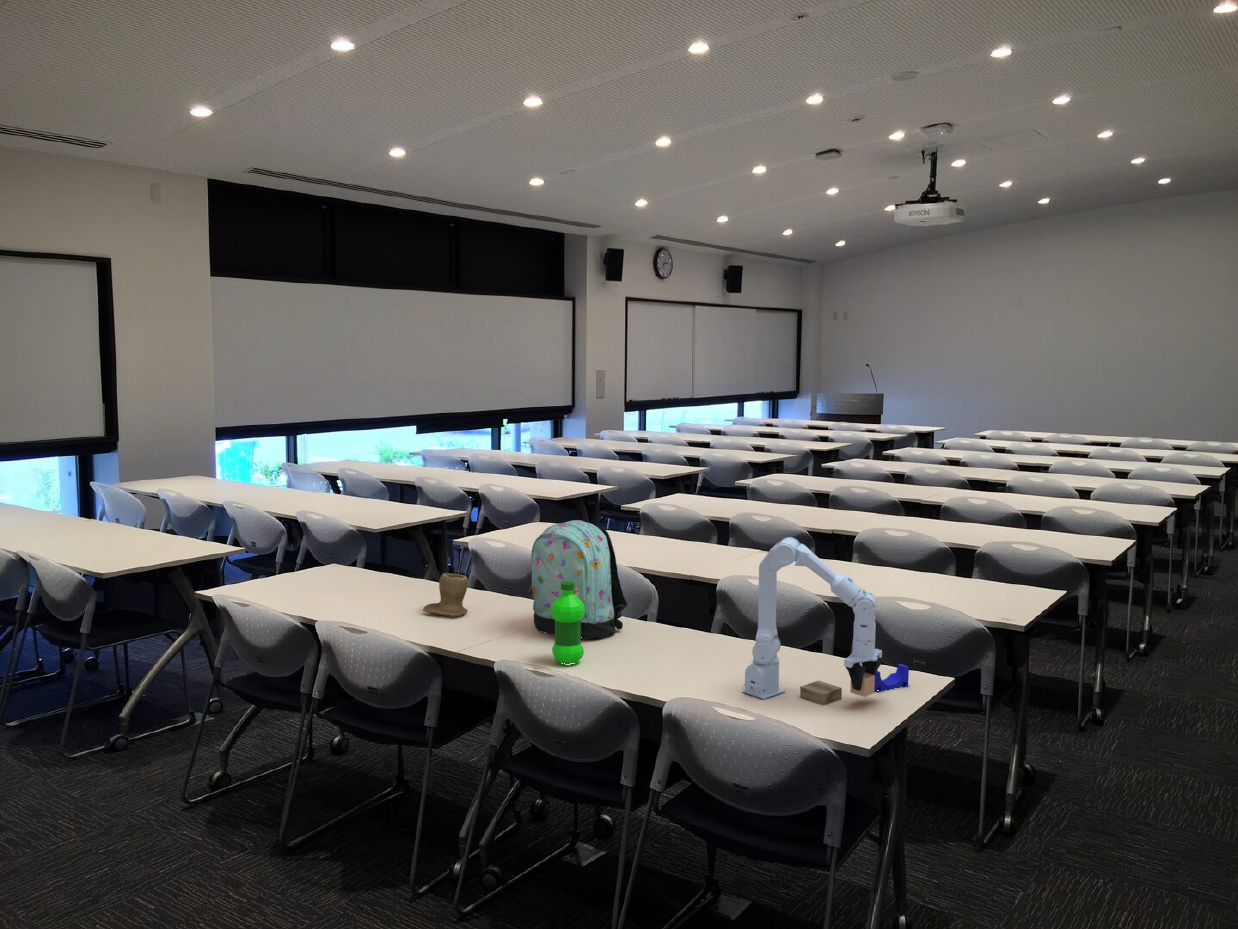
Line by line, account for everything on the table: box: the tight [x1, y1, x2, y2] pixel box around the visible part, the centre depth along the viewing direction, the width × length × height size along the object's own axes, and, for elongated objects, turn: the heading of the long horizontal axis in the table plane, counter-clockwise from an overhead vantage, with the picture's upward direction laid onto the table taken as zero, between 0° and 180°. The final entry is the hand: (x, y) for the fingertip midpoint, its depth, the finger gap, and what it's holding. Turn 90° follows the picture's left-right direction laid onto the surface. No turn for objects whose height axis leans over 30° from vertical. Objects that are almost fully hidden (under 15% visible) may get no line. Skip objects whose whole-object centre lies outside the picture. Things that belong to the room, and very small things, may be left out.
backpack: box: [527, 519, 628, 640], centre depth 321 cm, size 32×24×39 cm
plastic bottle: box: [551, 582, 585, 664], centre depth 290 cm, size 10×10×25 cm
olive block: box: [799, 680, 843, 706], centre depth 262 cm, size 8×8×3 cm
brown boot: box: [422, 572, 469, 617], centre depth 346 cm, size 15×12×15 cm
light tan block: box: [849, 672, 875, 698], centre depth 257 cm, size 4×4×5 cm
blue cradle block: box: [874, 663, 910, 693], centre depth 270 cm, size 12×4×6 cm, turn 116°
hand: (862, 687), depth 257 cm, fingers closed on light tan block, 4 cm apart
